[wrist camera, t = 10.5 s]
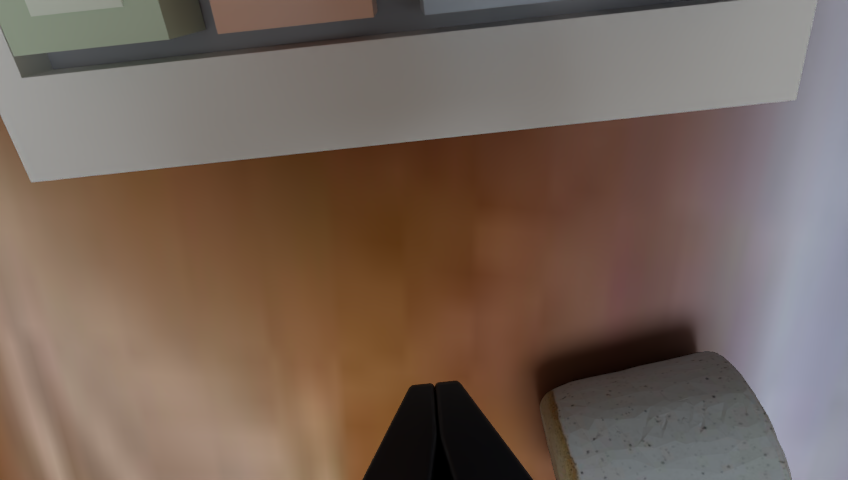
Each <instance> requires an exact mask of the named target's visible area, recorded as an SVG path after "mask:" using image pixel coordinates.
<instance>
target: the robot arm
mask: <svg viewBox="0 0 848 480" xmlns="http://www.w3.org/2000/svg"><path fill="white" fill-rule="evenodd" d="M363 480H533V479H532V478H531V476H530V475H529V474H528V472H527V471H526V470H525V468H524V467H523V466H522V464H521V463H520V462H519V460H518V459H517V458H516V456H515V455H514V454H513V452H512V451H511V450H510V448H509V447H508V446H507V444H506V443H505V442H504V440H503V439H502V438H501V436H500V435H499V434H498V432H497V431H496V430H495V428H494V427H493V426H492V424H491V423H490V422H489V421H488V419H487V418H486V417H485V415H484V414H483V413H482V411H481V410H480V409H479V407H478V406H477V405H476V403H475V402H474V401H473V399H472V398H471V397H470V395H469V394H468V393H467V391H466V390H465V389H464V387H463V386H462V385H461V383H460V382H458V381H447V382H439V383H437V384H436V385H435V387H434V385H433V384H431V383H428V384H419V385H412V386H411V387H410V388H409V389H408V391H407V393H406V395H405V397H404V399H403V401H402V403H401V405H400V407H399V409H398V411H397V413H396V415H395V417H394V419H393V421H392V423H391V425H390V426H389V428H388V430H387V432H386V434H385V436H384V438H383V440H382V442H381V444H380V446H379V448H378V450H377V452H376V454H375V456H374V458H373V460H372V462H371V464H370V466H369V468H368V470H367V472H366V474H365V476H364V478H363Z"/></svg>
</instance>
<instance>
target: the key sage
mask: <svg viewBox="0 0 848 480" xmlns="http://www.w3.org/2000/svg"><path fill="white" fill-rule="evenodd" d="M0 25H1V27H2V30H3V32H4V34H5V37H6V39H7V41H8V44H9V46H10V49H11V51H12V53H13V56H22V55H31V54H41V53H50V52H59V51H68V50H77V49H87V48H96V47H105V46H114V45H123V44H133V43H142V42H151V41H160V40H169V39H173V38H177V37H181V36H184V35H188V34H192V33H195V32H199V31H203V30H206V27H205V24H204V20H203V16H202V12H201V8H200V5H199V1H198V0H0Z"/></svg>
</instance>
